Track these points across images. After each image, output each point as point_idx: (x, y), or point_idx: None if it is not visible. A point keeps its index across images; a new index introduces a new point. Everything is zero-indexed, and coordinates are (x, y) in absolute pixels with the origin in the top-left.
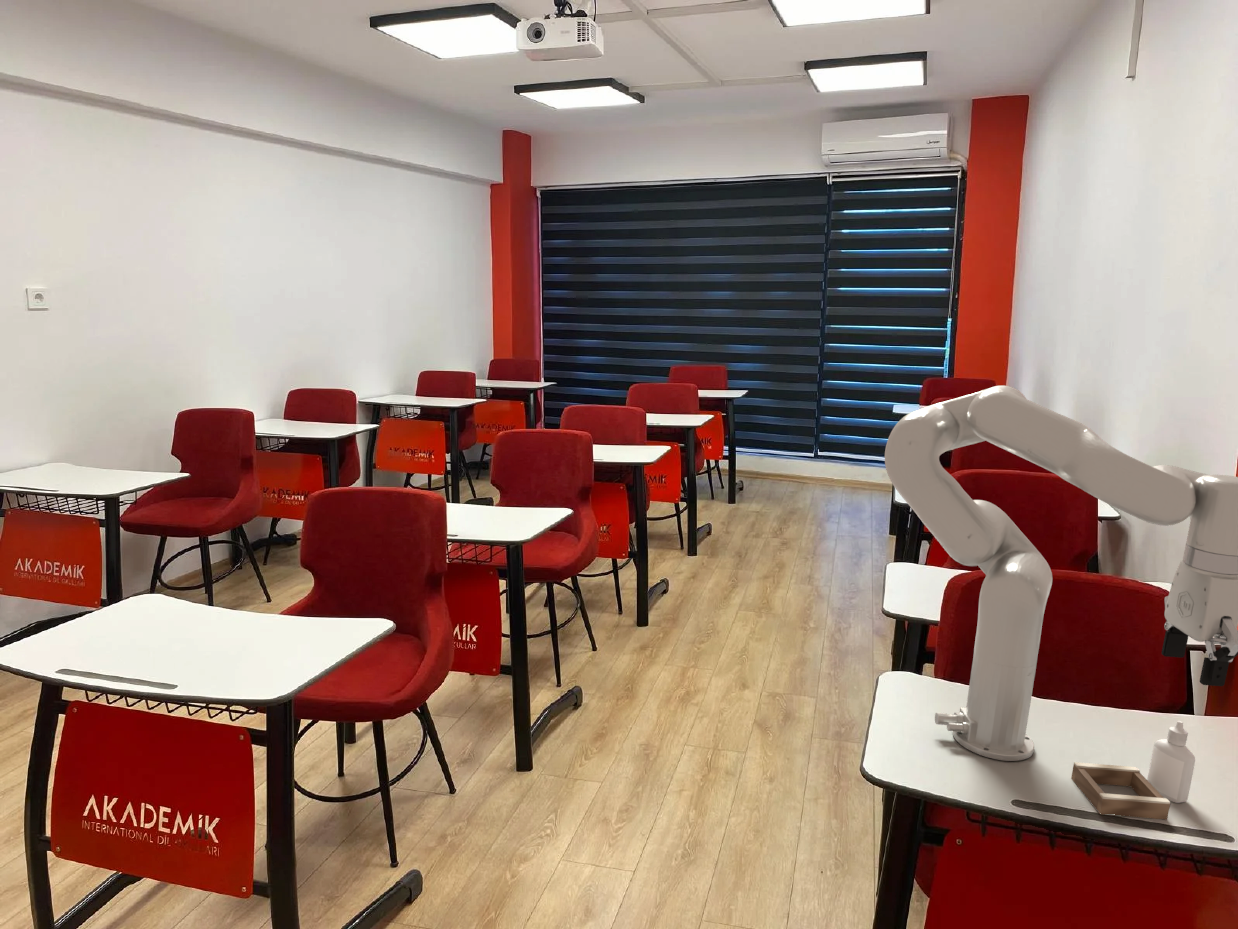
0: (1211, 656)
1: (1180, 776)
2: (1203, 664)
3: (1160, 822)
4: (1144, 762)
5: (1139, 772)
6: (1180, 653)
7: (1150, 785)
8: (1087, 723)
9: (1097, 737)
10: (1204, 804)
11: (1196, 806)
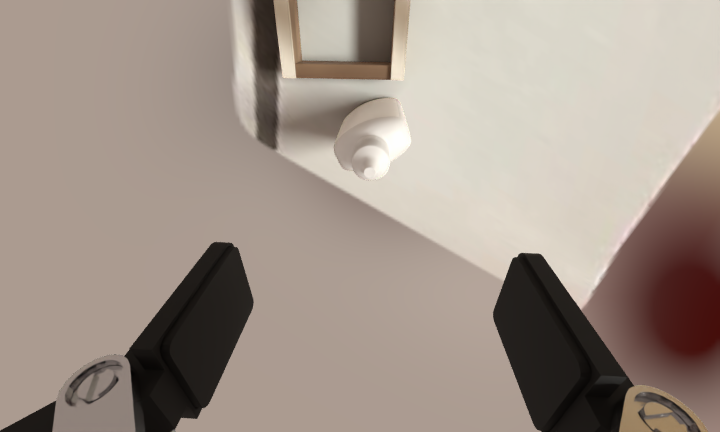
0: (102, 382)
1: (339, 131)
2: (177, 310)
3: None
4: (471, 138)
5: (390, 79)
6: (502, 317)
7: (344, 75)
8: (627, 103)
9: (570, 94)
10: None
11: None
